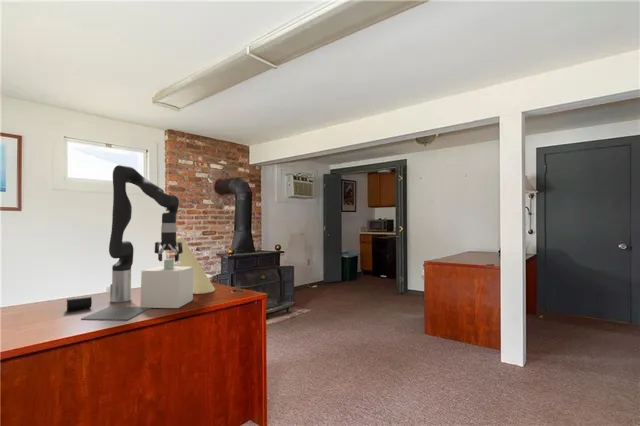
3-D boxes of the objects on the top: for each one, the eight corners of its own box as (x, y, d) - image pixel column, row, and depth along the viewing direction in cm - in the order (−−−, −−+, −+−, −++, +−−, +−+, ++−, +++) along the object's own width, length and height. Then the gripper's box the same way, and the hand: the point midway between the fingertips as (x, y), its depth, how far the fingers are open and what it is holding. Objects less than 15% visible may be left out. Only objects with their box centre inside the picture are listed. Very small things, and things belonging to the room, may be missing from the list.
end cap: (67, 313, 171) (67, 299, 171) (65, 310, 177) (65, 297, 177) (91, 310, 178) (91, 296, 178) (89, 307, 183) (89, 294, 183)
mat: (80, 319, 161) (80, 318, 161) (109, 307, 183) (109, 306, 183) (127, 320, 161) (127, 319, 161) (151, 307, 182) (151, 306, 182)
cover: (140, 307, 181) (141, 260, 182) (158, 299, 201) (159, 257, 201) (178, 308, 181) (179, 261, 181) (192, 299, 200) (193, 257, 201)
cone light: (208, 286, 238) (209, 234, 238) (219, 291, 224) (220, 235, 224) (170, 291, 223) (171, 235, 223) (180, 296, 208) (180, 237, 209)
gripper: (152, 231, 187) (152, 262, 187) (179, 231, 187) (178, 262, 187) (159, 231, 195) (158, 260, 195) (184, 231, 194) (184, 260, 194)
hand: (168, 261), depth 191 cm, fingers open, 8 cm apart
